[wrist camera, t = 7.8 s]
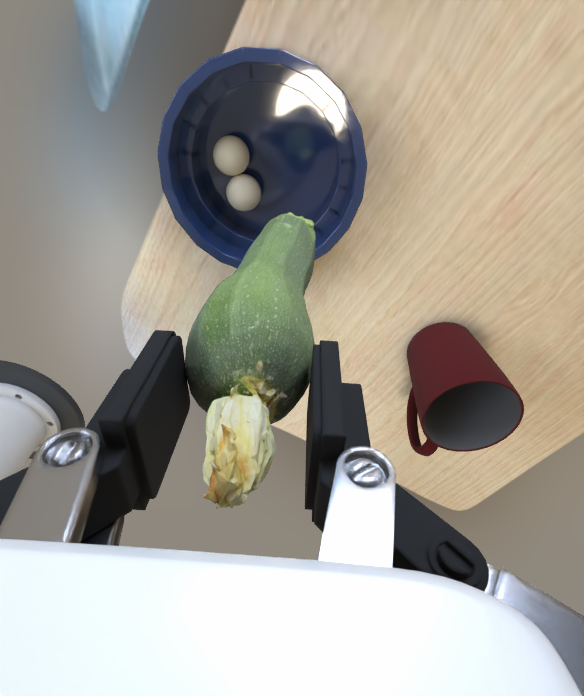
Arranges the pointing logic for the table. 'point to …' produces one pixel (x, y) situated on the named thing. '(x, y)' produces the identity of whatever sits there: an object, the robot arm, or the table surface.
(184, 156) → the mixing bowl
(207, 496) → the vegetable
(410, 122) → the table surface
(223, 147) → the beige small ball
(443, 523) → the robot arm
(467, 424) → the mug
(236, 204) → the dumpling
